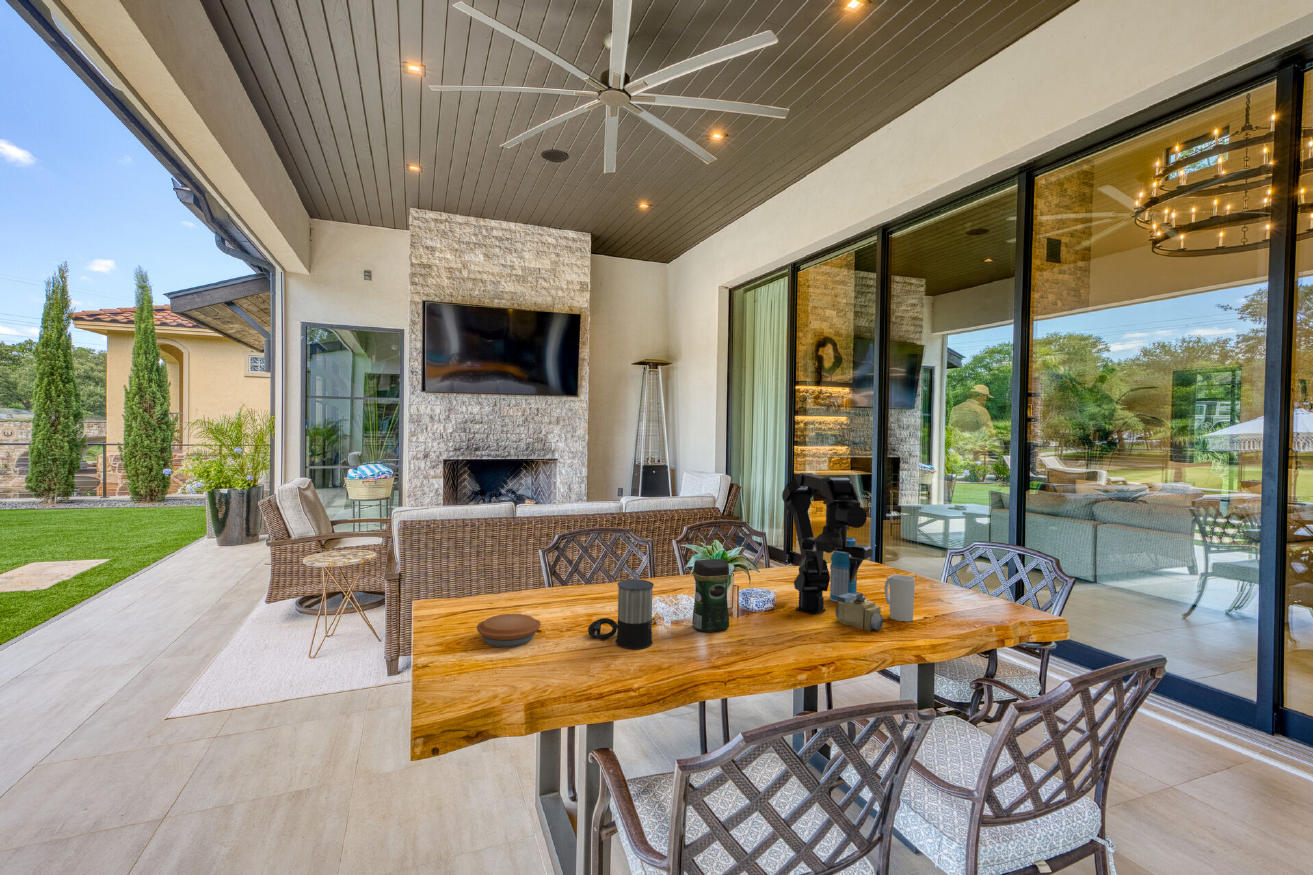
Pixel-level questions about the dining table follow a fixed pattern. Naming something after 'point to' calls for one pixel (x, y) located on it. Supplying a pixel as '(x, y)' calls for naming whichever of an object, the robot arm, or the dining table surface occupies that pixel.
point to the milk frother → (630, 616)
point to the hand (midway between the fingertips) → (835, 578)
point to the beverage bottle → (841, 574)
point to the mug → (900, 597)
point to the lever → (852, 597)
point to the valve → (860, 615)
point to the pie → (508, 630)
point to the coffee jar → (711, 595)
